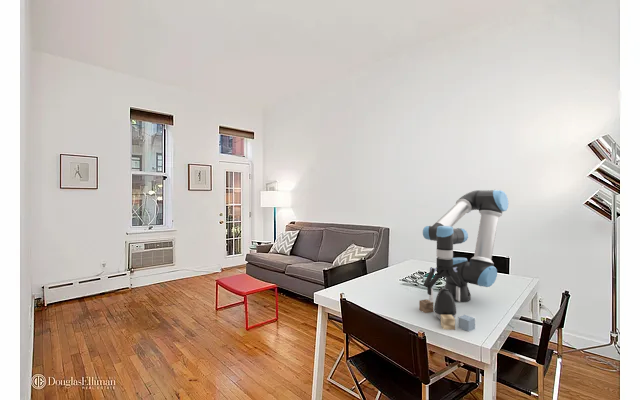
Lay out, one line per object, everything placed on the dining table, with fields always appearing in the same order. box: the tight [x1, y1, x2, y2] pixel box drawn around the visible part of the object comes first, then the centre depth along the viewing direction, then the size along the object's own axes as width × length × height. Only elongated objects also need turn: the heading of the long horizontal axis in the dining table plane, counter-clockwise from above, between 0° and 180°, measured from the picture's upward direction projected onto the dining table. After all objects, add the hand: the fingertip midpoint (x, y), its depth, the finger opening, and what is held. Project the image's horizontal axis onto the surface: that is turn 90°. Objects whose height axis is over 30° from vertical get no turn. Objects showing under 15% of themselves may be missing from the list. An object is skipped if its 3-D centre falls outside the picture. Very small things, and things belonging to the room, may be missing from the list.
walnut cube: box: [418, 298, 434, 314], centre depth 166 cm, size 5×5×5 cm
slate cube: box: [457, 314, 476, 333], centre depth 145 cm, size 5×5×5 cm
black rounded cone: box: [433, 286, 457, 321], centre depth 155 cm, size 10×10×15 cm
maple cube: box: [440, 314, 456, 331], centre depth 146 cm, size 5×5×5 cm
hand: (444, 300), depth 155 cm, fingers open, 13 cm apart
